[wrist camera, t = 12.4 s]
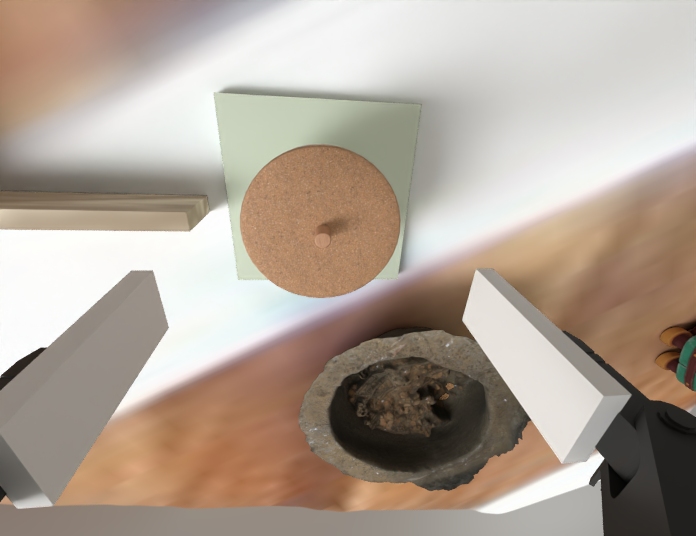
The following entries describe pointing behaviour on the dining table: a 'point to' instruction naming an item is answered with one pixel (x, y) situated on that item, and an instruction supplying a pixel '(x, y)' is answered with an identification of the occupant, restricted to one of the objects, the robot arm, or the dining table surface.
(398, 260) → the pad
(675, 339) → the binoculars
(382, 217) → the lidded jar
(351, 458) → the stone bowl
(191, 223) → the cubby
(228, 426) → the dining table surface
